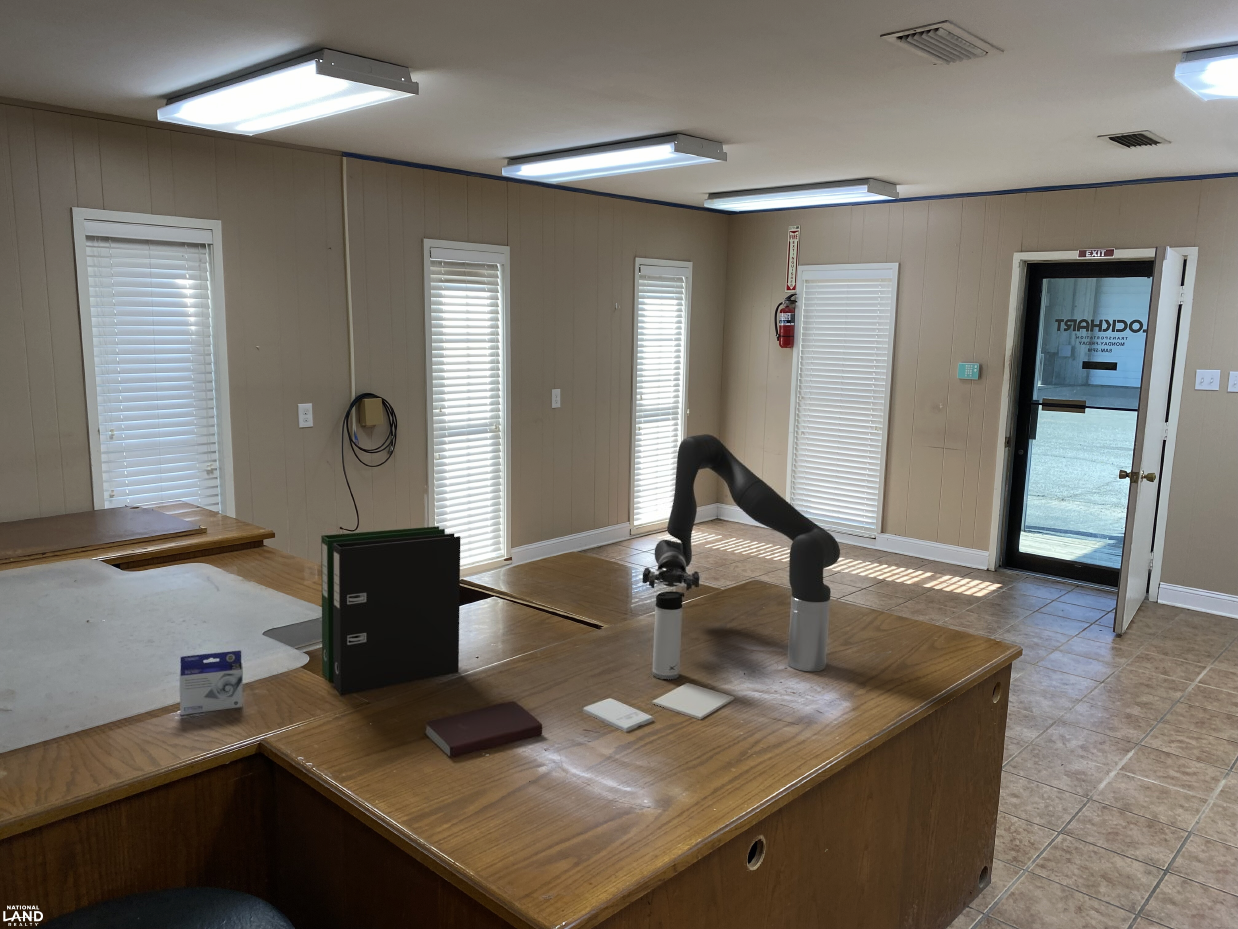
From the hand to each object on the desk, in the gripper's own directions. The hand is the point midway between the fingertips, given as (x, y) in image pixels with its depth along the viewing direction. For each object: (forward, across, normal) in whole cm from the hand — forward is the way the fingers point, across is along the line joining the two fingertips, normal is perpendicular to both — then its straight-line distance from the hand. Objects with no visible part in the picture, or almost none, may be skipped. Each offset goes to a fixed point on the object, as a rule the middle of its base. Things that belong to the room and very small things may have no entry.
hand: (670, 585), depth 208 cm
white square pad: (+26, +7, +18) cm, 32 cm away
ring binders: (+22, -62, +20) cm, 68 cm away
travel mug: (+11, 0, +19) cm, 22 cm away
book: (+49, -34, +19) cm, 63 cm away
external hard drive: (+36, -9, +19) cm, 42 cm away
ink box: (+47, -90, +20) cm, 103 cm away
